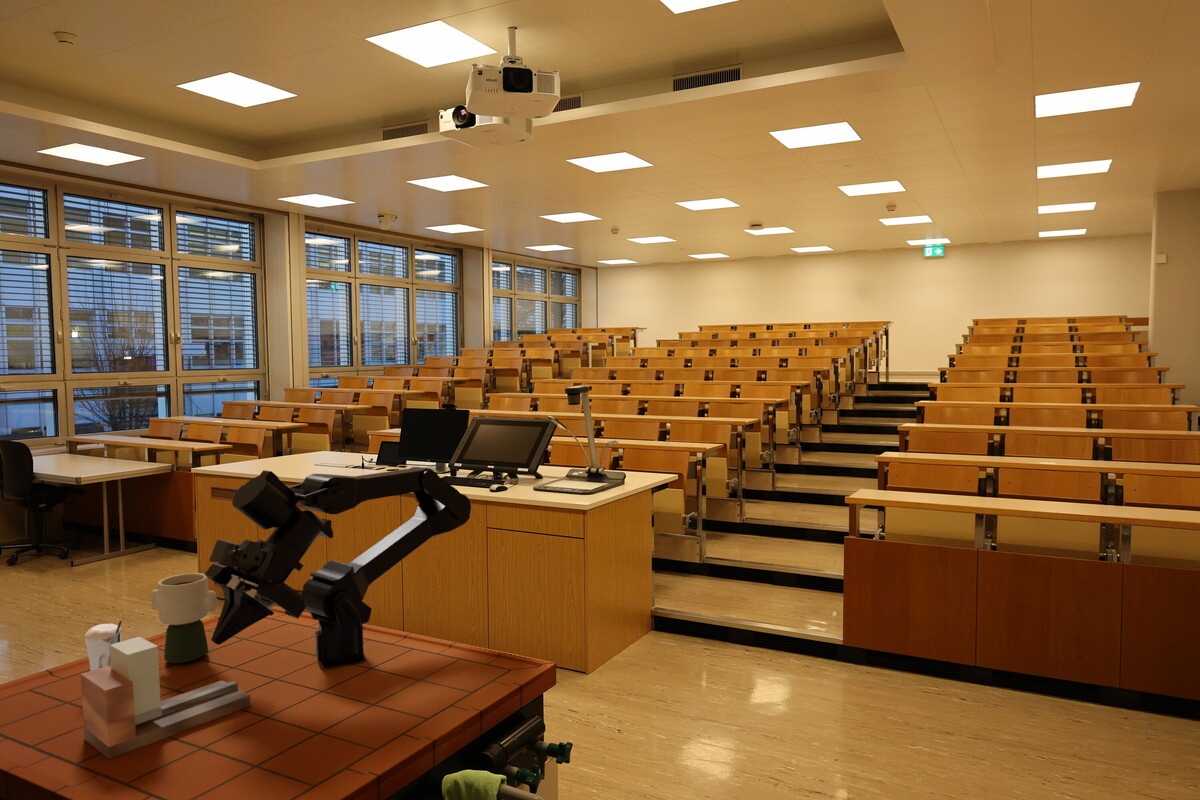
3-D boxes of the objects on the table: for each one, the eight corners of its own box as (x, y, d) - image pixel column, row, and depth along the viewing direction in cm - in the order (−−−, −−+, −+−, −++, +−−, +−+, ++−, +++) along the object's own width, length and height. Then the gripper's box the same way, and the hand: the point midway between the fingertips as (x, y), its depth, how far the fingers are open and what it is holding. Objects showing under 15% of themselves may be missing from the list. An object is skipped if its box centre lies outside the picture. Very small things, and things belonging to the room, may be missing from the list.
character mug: (231, 651, 126) (228, 573, 125) (205, 669, 119) (201, 586, 118) (169, 649, 127) (166, 572, 127) (139, 667, 120) (135, 585, 120)
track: (222, 690, 112) (219, 632, 111) (250, 705, 107) (248, 645, 106) (84, 739, 98) (80, 673, 97) (109, 759, 93) (105, 690, 92)
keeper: (142, 702, 102) (138, 636, 102) (162, 715, 99) (158, 646, 98) (112, 712, 99) (109, 644, 99) (131, 726, 96) (128, 655, 95)
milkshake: (111, 694, 111) (107, 626, 110) (80, 691, 112) (76, 624, 111) (136, 681, 115) (133, 615, 114) (106, 678, 116) (102, 613, 116)
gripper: (214, 508, 115) (139, 600, 107) (281, 524, 104) (202, 629, 96) (267, 548, 122) (200, 638, 114) (335, 568, 110) (265, 669, 103)
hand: (214, 642), depth 107 cm, fingers closed
